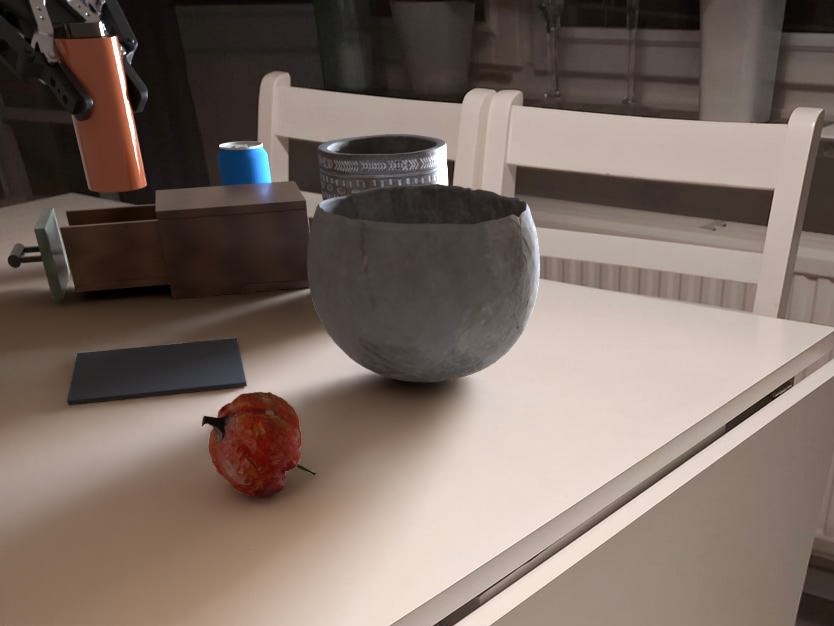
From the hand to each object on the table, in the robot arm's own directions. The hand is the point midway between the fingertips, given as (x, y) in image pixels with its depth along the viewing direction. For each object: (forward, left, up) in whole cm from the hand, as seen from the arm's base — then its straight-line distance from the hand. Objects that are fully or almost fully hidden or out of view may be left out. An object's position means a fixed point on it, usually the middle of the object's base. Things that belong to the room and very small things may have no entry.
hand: (114, 108), depth 84 cm
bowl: (+24, -9, -22) cm, 34 cm away
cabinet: (+9, +32, -22) cm, 40 cm away
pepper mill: (-1, +1, -6) cm, 6 cm away
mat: (-1, 0, -22) cm, 22 cm away
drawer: (-7, +32, -21) cm, 39 cm away
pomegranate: (+7, -30, -22) cm, 38 cm away
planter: (+26, +22, -22) cm, 40 cm away
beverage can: (+12, +50, -22) cm, 56 cm away
